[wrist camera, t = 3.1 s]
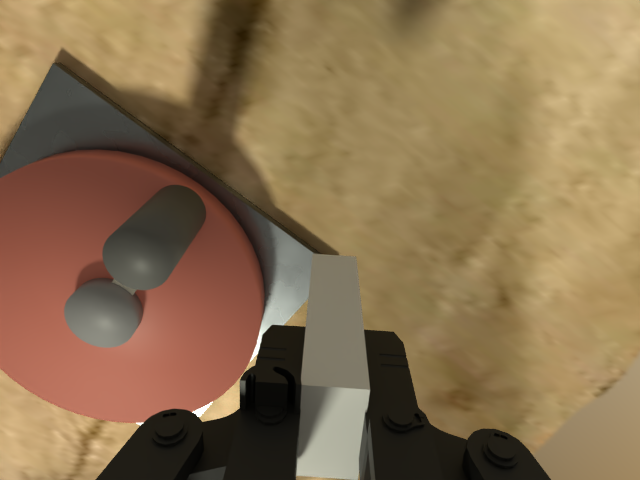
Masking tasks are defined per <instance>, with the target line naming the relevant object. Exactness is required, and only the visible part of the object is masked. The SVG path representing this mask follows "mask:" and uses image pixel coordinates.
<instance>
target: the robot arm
mask: <svg viewBox="0 0 640 480" xmlns="http://www.w3.org/2000/svg"><path fill="white" fill-rule="evenodd" d="M359 473H360V480H551V479H550V478H549V477H548V475H547V474H546V472H545V471H544V470H543V469H542V467H541V466H540V465H539V463H538V462H537V461H536V459H535V458H534V457H533V455H532V454H531V453H530V451H529V450H528V449H527V448H526V447H525V446H524V445H523V444H522V443H521V442H520V441H519V440H518V439H516V438H515V437H513V436H511V435H510V434H508V433H506V432H502V431H499V430H496V429H480V430H477V431H474V432H473V433H472V434H471V435H470V437H469V438H468V440H466V439H463V438H460V437H457V436H454V435H451V434H448V433H446V432H443V431H441V430H439V429H437V428H436V427H434V426H433V425H431V424H430V423H429V421H428V419H427V417H426V415H425V414H424V413H423V412H422V411H421V410H420V409H419V408H418V405H417V400H416V396H415V392H414V387H413V383H412V379H411V374H410V370H409V368H408V361H407V358H406V353H405V348H404V344H403V342H402V341H401V340H400V339H399V337H398V336H397V335H396V334H395V333H394V332H388V331H374V330H364V327H363V317H362V308H361V298H360V289H359V279H358V270H357V260H356V257H354V256H339V255H325V254H313V255H312V265H311V276H310V287H309V297H308V308H307V319H306V327H300V326H285V325H271V326H270V327H269V328H268V329H267V330H266V331H265V333H264V334H263V335H262V339H261V343H260V348H259V351H258V356H257V360H256V364H255V366H253V367H251V368H250V369H249V370H247V371H246V372H245V373H244V374H243V376H242V377H241V379H240V409H238V410H237V411H236V412H234V413H233V414H231V415H228V416H226V417H223V418H220V419H216V420H210V421H205V422H202V421H201V420H200V419H199V417H198V416H197V415H196V414H195V413H193V412H190V411H188V410H185V409H169V410H164V411H161V412H159V413H156V414H154V415H152V416H150V417H149V418H148V419H147V420H146V421H145V422H144V423H142V424H141V426H140V427H139V428H138V429H137V430H136V432H135V433H134V434H133V435H132V436H131V438H130V439H129V440H128V441H127V442H126V444H125V445H124V446H123V447H122V448H121V450H120V451H119V452H118V453H117V455H116V456H115V457H114V458H113V459H112V461H111V462H110V463H109V464H108V465H107V467H106V468H105V469H104V470H103V471H102V473H101V474H100V475H99V476H98V477H97V479H96V480H296V476H309V477H324V478H338V479H353V480H358V474H359Z"/></svg>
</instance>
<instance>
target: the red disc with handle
mask: <svg viewBox="0 0 640 480" xmlns="http://www.w3.org/2000/svg"><path fill="white" fill-rule="evenodd" d="M264 298H265V293H264V283H263V276H262V272H261V269H260V265H259V261H258V258H257V256H256V254H255V251H254V249H253V246H252V244H251V242H250V241H249V239H248V237H247V235H246V234H245V232H244V230H243V228H242V227H241V226H240V224H239V223H238V222H237V220H236V219H235V218H234V216H233V215H232V214H231V212H230V211H229V210H228V209H227V208H226V207H225V206H224V205H223V204H222V203H221V202H220V201H219V200H218V199H217V198H216V197H215V196H214V195H212V194H211V193H210V192H209V191H207V190H206V189H205V188H204V187H203V186H201V185H200V184H199V183H197V182H195V181H194V180H192V179H191V178H189V177H188V176H186V175H184V174H183V173H181V172H179V171H177V170H175V169H173V168H171V167H169V166H167V165H165V164H163V163H160V162H157V161H154V160H151V159H148V158H146V157H143V156H139V155H134V154H130V153H125V152H121V151H111V150H100V149H95V150H76V151H70V152H65V153H59V154H55V155H52V156H49V157H46V158H43V159H40V160H38V161H35V162H33V163H31V164H29V165H26V166H24V167H22V168H19V169H17V170H15V171H13V172H11V173H9V174H7V175H5V176H3V177H2V178H0V369H1V370H3V371H4V372H5V373H6V374H7V375H8V376H9V377H10V378H12V379H13V380H14V381H16V382H17V383H18V384H20V385H21V386H22V387H24V388H25V389H27V390H28V391H30V392H32V393H33V394H35V395H37V396H38V397H40V398H42V399H44V400H46V401H48V402H50V403H52V404H54V405H56V406H58V407H60V408H63V409H66V410H69V411H71V412H74V413H77V414H80V415H84V416H88V417H91V418H95V419H101V420H107V421H112V422H125V423H144V422H145V421H146V420H147V419H148V418H149V417H150V416H152V415H154V414H156V413H159V412H161V411H164V410H169V409H185V410H188V411H190V412H194V411H197V410H199V409H201V408H202V407H204V406H206V405H208V404H210V403H212V402H213V401H214V400H216V399H217V398H219V397H220V396H222V395H223V394H224V393H225V392H226V391H227V390H228V389H229V388H230V387H232V386H233V385H234V384H235V382H236V381H237V380H238V379H239V377H240V376H241V375H242V374H243V372H244V370H245V369H246V367H247V365H248V363H249V362H250V360H251V358H252V355H253V352H254V350H255V347H256V345H257V340H258V336H259V332H260V327H261V322H262V317H263V313H264Z"/></svg>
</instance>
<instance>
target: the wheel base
mask: <svg viewBox="0 0 640 480" xmlns="http://www.w3.org/2000/svg"><path fill="white" fill-rule="evenodd" d="M95 149H100V150H111V151H121V152H125V153H130V154H134V155H139V156H143V157H146V158H148V159H151V160H154V161H157V162H160V163H163V164H165V165H167V166H169V167H171V168H173V169H175V170H177V171H179V172H181V173H183V174H184V175H186V176H188V177H189V178H191V179H192V180H194V181H195V182H197V183H199V184H200V185H201V186H203V187H204V188H205V189H206V190H207V191H209V192H210V193H211V194H212V195H214V196H215V197H216V198H217V199H218V200H219V201H220V202H221V203H222V204H223V205H224V206H225V207H226V208H227V209H228V210H229V211H230V212H231V214H232V215H233V216H234V218H235V219H236V220H237V222H238V223H239V224H240V226H241V227H242V228H243V230H244V232H245V234H246V235H247V237H248V239H249V241H250V242H251V244H252V246H253V249H254V251H255V254H256V256H257V258H258V261H259V265H260V269H261V272H262V276H263V283H264V293H265V298H264V313H263V317H262V322H261V327H260V332H259V336H258V340H257V345H256V347H255V350H254V352H253V355H252V358H251V360H252V359H253V358H254V357H255V356H256V354H257V353H258V351H259V348H260V343H261V339H262V335H263V334H264V333H265V331H266V330H267V329H268V328H269V327H270V326H271V325H284V324H285V323H286V322H287V321H288V320H289V319H290V318H291V317H292V315H293V314H294V313H295V312H296V311H297V310H298V309H299V308H300V307H301V306H302V305H303V304H304V302H305V301H306V300H307V299H308V297H309V287H310V276H311V265H312V255H313V254H321V253H319V252H318V251H317V250H315V249H314V248H312V247H311V246H310V245H308V244H307V243H306V242H304V241H303V240H302V239H300V238H299V237H297V236H296V235H295V234H293V233H292V232H291V231H289V230H288V229H287V228H285V227H284V226H282V225H281V224H280V223H278V222H277V221H276V220H274V219H273V218H271V217H270V216H269V215H267V214H266V213H265V212H263V211H262V210H261V209H259V208H258V207H256V206H255V205H254V204H252V203H251V202H250V201H248V200H247V199H246V198H244V197H243V196H241V195H240V194H239V193H237V192H236V191H235V190H233V189H232V188H230V187H229V186H228V185H226V184H225V183H224V182H222V181H221V180H220V179H218V178H217V177H215V176H214V175H213V174H211V173H210V172H209V171H207V170H206V169H205V168H203V167H202V166H200V165H199V164H198V163H196V162H195V161H194V160H192V159H191V158H189V157H188V156H187V155H185V154H184V153H183V152H181V151H180V150H179V149H177V148H176V147H174V146H173V145H172V144H170V143H169V142H168V141H166V140H165V139H164V138H162V137H161V136H159V135H158V134H157V133H155V132H154V131H153V130H151V129H150V128H149V127H147V126H146V125H144V124H143V123H142V122H140V121H139V120H138V119H136V118H135V117H133V116H132V115H131V114H129V113H128V112H127V111H125V110H124V109H123V108H121V107H120V106H118V105H117V104H116V103H114V102H113V101H112V100H110V99H109V98H108V97H106V96H105V95H103V94H102V93H101V92H99V91H98V90H97V89H95V88H94V87H92V86H91V85H90V84H88V83H87V82H86V81H84V80H83V79H82V78H80V77H79V76H77V75H76V74H75V73H73V72H72V71H71V70H69V69H68V68H67V67H65V66H64V65H62V64H61V63H53V64H52V66H51V68H50V70H49V72H48V74H47V76H46V78H45V80H44V81H43V83H42V85H41V87H40V89H39V91H38V93H37V95H36V97H35V98H34V100H33V102H32V104H31V106H30V108H29V110H28V112H27V114H26V115H25V117H24V119H23V121H22V123H21V125H20V127H19V129H18V131H17V132H16V134H15V136H14V138H13V140H12V142H11V144H10V146H9V148H8V149H7V151H6V153H5V155H4V157H3V159H2V161H1V163H0V178H2V177H3V176H5V175H7V174H9V173H11V172H13V171H15V170H17V169H19V168H22V167H24V166H26V165H29V164H31V163H33V162H35V161H38V160H40V159H43V158H46V157H49V156H52V155H55V154H59V153H65V152H70V151H76V150H95ZM251 360H250V361H251ZM210 404H211V403H210ZM210 404H208V405H206V406H204V407H202V408H201V409H199V410H197V411H194V412H193V413H195V414H196V415H197V416H198V417H199V416H200V415H201V414H202V413H203V412H204V411H205V410H206V409H207V408H208V407H209V405H210ZM137 424H139V425H141V424H142V423H137Z"/></svg>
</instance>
